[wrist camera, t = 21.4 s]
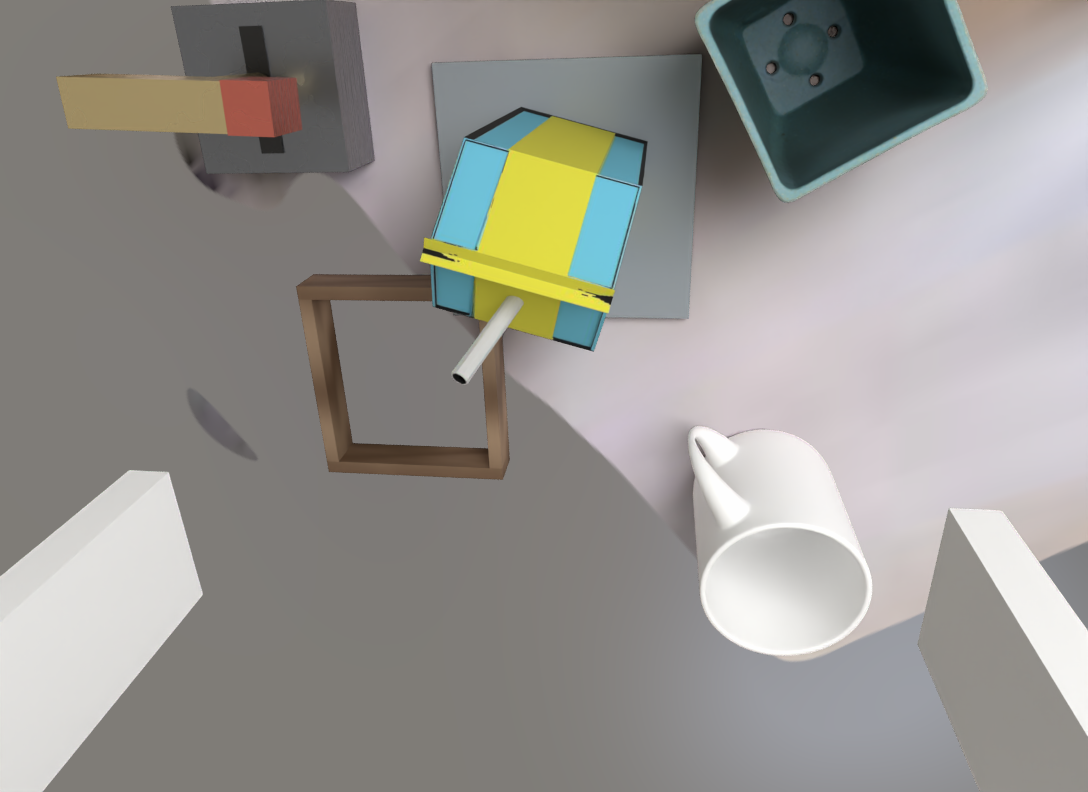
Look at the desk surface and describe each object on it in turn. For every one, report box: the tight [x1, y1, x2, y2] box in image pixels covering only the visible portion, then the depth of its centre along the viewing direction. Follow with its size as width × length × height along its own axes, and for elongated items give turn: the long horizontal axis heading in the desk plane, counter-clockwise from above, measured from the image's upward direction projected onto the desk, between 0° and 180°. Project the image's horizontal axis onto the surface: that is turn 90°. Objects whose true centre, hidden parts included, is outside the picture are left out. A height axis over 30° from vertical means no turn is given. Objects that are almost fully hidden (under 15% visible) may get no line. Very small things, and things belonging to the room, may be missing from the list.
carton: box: [420, 107, 648, 385], centre depth 34 cm, size 7×8×18 cm
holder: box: [296, 274, 510, 480], centre depth 48 cm, size 13×12×2 cm
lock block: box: [171, 0, 375, 174], centre depth 40 cm, size 8×8×4 cm
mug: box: [688, 426, 872, 656], centre depth 44 cm, size 9×12×11 cm
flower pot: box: [695, 0, 988, 203], centre depth 34 cm, size 9×9×9 cm
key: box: [56, 73, 302, 137], centre depth 35 cm, size 9×2×8 cm, turn 89°
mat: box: [432, 54, 702, 319], centre depth 42 cm, size 14×14×1 cm
